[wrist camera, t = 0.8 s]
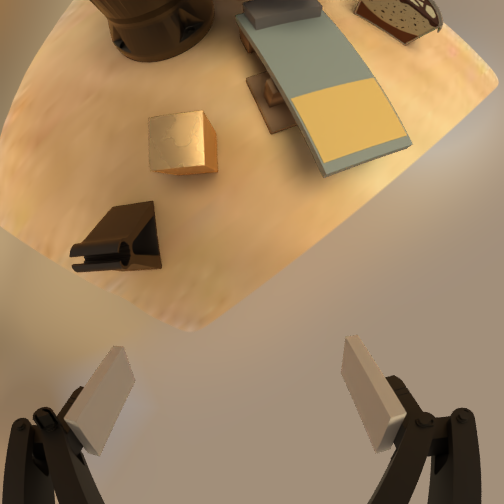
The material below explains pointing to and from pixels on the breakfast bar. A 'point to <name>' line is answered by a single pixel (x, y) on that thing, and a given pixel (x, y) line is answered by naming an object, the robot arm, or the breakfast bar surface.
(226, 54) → the breakfast bar surface
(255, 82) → the beam stand
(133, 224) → the phone stand
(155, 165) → the wooden block
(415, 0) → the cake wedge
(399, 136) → the beam
